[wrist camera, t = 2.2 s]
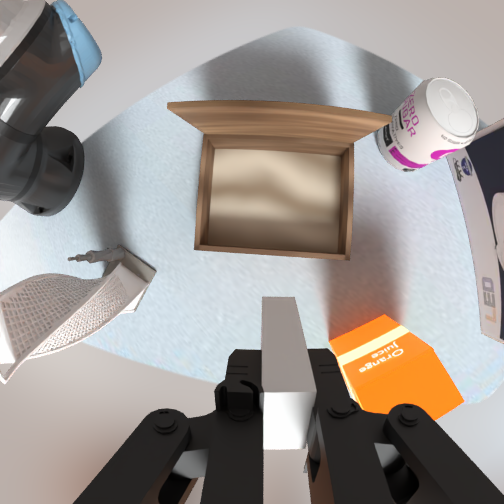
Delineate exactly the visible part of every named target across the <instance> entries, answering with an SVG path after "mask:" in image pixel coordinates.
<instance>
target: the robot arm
mask: <svg viewBox="0 0 504 504" xmlns="http://www.w3.org/2000/svg"><path fill="white" fill-rule="evenodd" d="M101 55H102V54H101V51H100V49H99V47H98V45H97V43H96V42H95V40H94V39H93V37H92V35H91V34H90V32H89V31H88V30H87V28H86V27H85V25H84V24H83V23H82V21H81V20H80V19H79V18H77V15H76V14H75V13H74V11H73V10H72V9H71V7H70V6H69V5H68V4H67V3H66V2H65V1H64V0H57V1H56V2H53V3H52V4H51V5H49V4H48V3H47V2H46V1H45V0H28V1H23V0H0V200H3V201H11V202H14V203H15V204H17V205H18V206H20V207H21V208H23V209H24V210H26V211H27V212H29V213H31V214H33V215H37V216H51V215H54V214H57V213H58V212H60V211H61V210H62V209H64V208H65V207H66V206H67V205H68V203H69V202H70V201H71V199H72V198H73V196H74V195H75V193H76V191H77V189H78V186H79V184H80V181H81V177H82V173H83V167H84V154H83V148H82V145H81V142H80V141H79V139H78V137H77V136H76V135H75V134H74V133H72V132H71V131H68V130H66V129H64V128H62V127H56V126H54V127H45V126H46V125H47V124H48V122H49V121H50V120H51V119H52V117H53V116H54V115H55V114H56V113H57V112H58V110H59V109H60V108H61V107H62V106H63V104H64V103H65V102H66V101H67V100H68V99H69V98H70V97H71V96H72V95H73V94H74V92H75V91H76V90H77V89H78V88H79V87H80V88H81V87H82V86H83V85H84V82H85V81H86V80H87V79H88V78H89V77H90V76H91V74H92V73H93V72H94V71H95V70H96V69H97V68H98V67H99V65H100V63H101V60H102V56H101ZM214 393H215V403H216V410H214V411H213V412H212V413H210V414H207V415H205V416H200V417H193V418H187V417H186V416H185V415H184V414H183V413H181V412H180V411H177V410H174V409H158V410H156V411H153V412H151V413H150V414H148V415H147V416H146V417H145V418H144V419H143V421H142V422H141V423H140V424H139V425H138V427H137V428H136V429H135V430H134V431H133V433H132V434H131V435H130V436H129V438H128V439H127V440H126V441H125V442H124V444H123V445H122V446H121V447H120V448H119V450H118V451H117V452H116V453H115V454H114V456H113V457H112V458H111V459H110V460H109V462H108V463H107V464H106V465H105V466H104V467H103V469H102V470H101V471H100V472H99V473H98V475H97V476H96V477H95V478H94V479H93V480H92V482H91V483H90V484H89V485H88V486H87V488H86V489H85V490H84V491H83V492H82V493H81V495H80V496H79V497H78V498H77V499H76V500H75V501H74V503H73V504H184V503H185V502H186V500H187V498H188V496H189V495H190V493H191V491H192V488H193V487H194V485H195V484H196V482H197V480H198V478H199V477H205V479H204V484H203V490H202V496H201V502H200V504H263V449H304V448H305V447H306V443H307V444H308V455H307V459H306V463H305V467H304V473H307V470H308V479H309V488H310V497H311V504H504V495H503V494H502V493H501V492H500V491H499V490H498V488H497V487H496V486H495V485H494V484H493V483H492V482H491V481H490V480H489V479H488V478H487V476H486V475H485V474H484V473H483V472H482V471H481V470H480V469H479V468H478V467H477V466H476V464H475V463H474V462H473V461H471V459H470V458H469V457H468V456H467V455H466V454H465V453H464V452H463V451H462V449H461V448H459V446H458V445H457V444H456V443H455V442H454V441H453V440H452V439H451V438H450V437H449V436H448V434H446V432H445V431H444V430H443V429H442V428H441V427H440V426H439V425H438V424H437V423H436V422H435V421H434V420H433V419H432V417H431V416H430V415H429V414H428V413H427V412H426V411H425V410H424V409H422V408H421V407H420V406H417V405H414V404H409V403H403V404H398V405H396V406H394V407H392V408H391V410H390V411H389V413H388V414H383V413H373V412H368V411H365V410H363V409H362V408H361V406H360V405H359V403H358V402H356V401H355V400H353V399H351V398H350V396H349V393H348V390H347V387H346V384H345V381H344V378H343V376H342V373H341V370H340V367H339V366H338V362H337V359H336V356H335V355H334V354H333V353H332V352H331V351H330V350H329V349H328V348H325V349H307V346H306V342H305V338H304V334H303V329H302V325H301V321H300V317H299V313H298V309H297V305H296V301H295V297H262V327H261V350H243V349H235V350H234V352H233V353H232V354H231V355H230V356H229V359H228V365H227V370H226V376H225V380H224V381H222V382H221V383H220V384H218V385H217V387H216V389H215V391H214Z"/></svg>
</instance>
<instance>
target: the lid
mask: <svg viewBox="0 0 504 504" xmlns="http://www.w3.org/2000/svg"><path fill="white" fill-rule="evenodd" d="M167 109H168V110H170V111H172V112H173V113H175V114H176V115H178V116H179V117H181V118H182V119H184V120H185V121H187V122H188V123H190V124H191V125H192V126H194V127H195V128H197V129H198V130H200V131H201V132H203V133H204V134H235V135H265V136H283V137H297V138H309V139H319V140H329V141H338V142H346V143H354V142H355V141H357V140H359V139H361V138H363V137H365V136H366V135H368V134H370V133H372V132H374V131H376V130H378V129H380V128H381V127H383V126H385V125H387V124H389V123H391V122H392V116H390V115H385V114H380V113H374V112H368V111H362V110H356V109H349V108H342V107H334V106H325V105H316V104H305V103H293V102H278V101H253V100H208V101H184V102H169V103H167Z"/></svg>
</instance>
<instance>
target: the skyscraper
mask: <svg viewBox="0 0 504 504" xmlns="http://www.w3.org/2000/svg"><path fill="white" fill-rule="evenodd" d="M68 260H69V261H71V260H76V261H77V262H80V261H84V260H87V261H88V262H89V263H94V262H98V261H107V262H109V264H108V266H107V269H106V271H105V273H104V275H103V277H102V278H98V279H90V280H84V279H80V278H77V277H73V276H69V275H64V274H52V273H49V274H41V275H36V276H33V277H30V278H28V279H25V280H23V281H21V282H19V283H17V284H15V285H13V286H11V287H9V288H8V289H6V290H4V291H2V292H1V293H0V364H2V363H14V364H13V365H12V366H11V368H10V369H9V370H8V372H7V373H6V374H5V375H4V376H3V375H2V373H1V371H0V381H1V382H2V383H4V384H6V383H7V381H8V380H9V379H10V377H11V376H12V375H13V374H14V372H15V371H16V370H17V368H18V367H19V366H20V365H21V364H22V363H23V362H24V361H25V360H26V359H31V358H36V357H40V356H44V355H48V354H51V353H54V352H57V351H60V350H63V349H65V348H68V347H70V346H73V345H75V344H77V343H79V342H81V341H83V340H84V339H86V338H88V337H90V336H91V335H93V334H94V333H96V332H97V331H99V330H100V329H102V328H103V327H104V326H106V325H107V324H108V323H110V322H111V321H112V320H113V319H114V318H116V317H117V316H118V315H119V314H122V313H132V312H135V311H136V309H137V307H138V305H139V303H140V301H141V300H142V298H143V296H144V294H145V292H146V290H147V288H148V286H149V285H150V283H151V281H152V279H153V277H154V275H155V273H156V271H155V270H153V269H152V268H151V267H149V266H148V265H146V264H145V263H144V262H142V261H141V260H139V259H138V258H137V257H135V256H134V255H132V254H131V253H130V252H128V251H127V250H126V249H124V248H123V247H122V246H120V245H118V246H117V248H116V249H110V248H107V249H106V250H104V251H92V250H90V251H88V252H87V253H86V255H80V254H78V255H76V257H69V258H68Z"/></svg>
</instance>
